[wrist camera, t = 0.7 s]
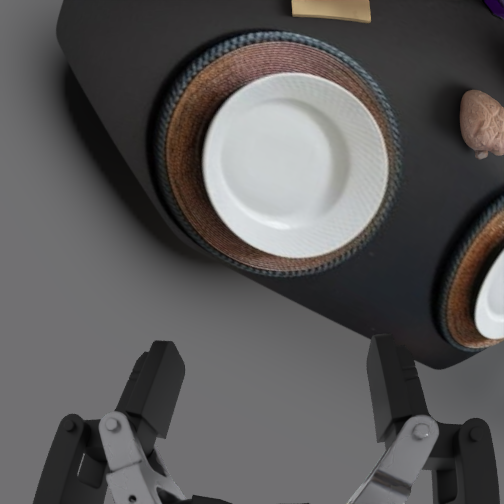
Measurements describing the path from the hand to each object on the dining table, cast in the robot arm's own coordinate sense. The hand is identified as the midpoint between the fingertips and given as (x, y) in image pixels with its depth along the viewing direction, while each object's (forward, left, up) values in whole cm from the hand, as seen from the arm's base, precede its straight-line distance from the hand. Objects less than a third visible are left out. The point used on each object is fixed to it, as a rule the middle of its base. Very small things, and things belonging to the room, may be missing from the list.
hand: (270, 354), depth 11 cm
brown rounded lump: (-10, +23, -24) cm, 34 cm away
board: (-22, +5, -23) cm, 32 cm away
